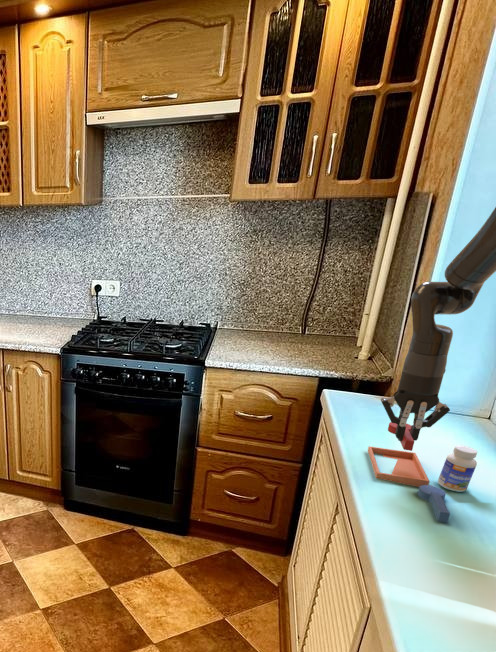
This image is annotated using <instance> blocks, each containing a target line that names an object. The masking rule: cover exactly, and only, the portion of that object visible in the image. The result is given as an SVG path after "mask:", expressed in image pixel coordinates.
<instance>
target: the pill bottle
mask: <svg viewBox="0 0 496 652" xmlns="http://www.w3.org/2000/svg"><path fill="white" fill-rule="evenodd" d="M477 454H478V451H477V450H476V449H474V448H472V447H470V446H466V445H462V444H461V445H455V446H454V448H453V452H451V453H449V454H448V455H447V456H446V459H445V460H444V463H443V466H442V468H441V471H440V474H439V477H438V479H437V483H438V484H439V486H440V487H442V488H445V489H446V490H450V491H452V492H459V493H463V492H466V491H467V489H468V488H469V484H470V482H471V480H472V477H473V475H474V472H475V470H476V467H477V464H478V462H477V460H476V459H475V458H476V457H477Z"/></svg>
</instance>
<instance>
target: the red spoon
mask: <svg viewBox="0 0 496 652" xmlns="http://www.w3.org/2000/svg"><path fill="white" fill-rule="evenodd" d="M411 426H412V424H409V423H407V422H406V425H405V427H406V430H405V433H404V436H403V440H402V441H399V443H400V444H401V447H402V450H403V451H409V452H413V448H414V444H415V441H414V440H413V438H412V436H411V434H410V430H411ZM396 428H397V424H396V423H392V422H391V421H389V423H388V427H387V431H388V432H389V433H391V434H392V435H395V432H396Z"/></svg>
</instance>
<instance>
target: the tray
mask: <svg viewBox="0 0 496 652" xmlns="http://www.w3.org/2000/svg"><path fill="white" fill-rule="evenodd" d="M367 453H368V455H369V460H370V462H371V466H372V470H373V472H374V476H375V479H379V480H385V481H389V482H393V483H398V484H403V485H408V486H414V487H417V488H419V487H420V486H422V485H430V479H429V478H428V475H427V474H426V471H425V470H424V467H423V466H422V463H421V461H420V459H419V457H418V455H417V453H416V452H413V451H407V450H398V449H390V448H383V447H376V446H370V445H368V447H367ZM375 454H380V455H382V457H383V458H384V457H385V458H389V459H394V460H396V462H395V465H394V467H393V469H392V472H391V473H385V472H380V469H379V466H378V463H377V460H376V457H375Z"/></svg>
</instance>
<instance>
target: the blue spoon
mask: <svg viewBox="0 0 496 652" xmlns="http://www.w3.org/2000/svg"><path fill="white" fill-rule="evenodd" d="M446 494H447V493H446V491H445V490H443V489H442V488H440V487H437V486H435V485H430V484H429V485H422V486H420V487H418V490H417V497H419V498H420V499H422V500H424V501H425V502H428V503H429V504H430V505H431V507H432V511H433V513H434V516H435V518H436V521H437V522H439V523H444V524H448V522H449V518H450V516H451V513H450V511H449V509H448V507H447V504H446V502H445V499H446Z"/></svg>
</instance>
